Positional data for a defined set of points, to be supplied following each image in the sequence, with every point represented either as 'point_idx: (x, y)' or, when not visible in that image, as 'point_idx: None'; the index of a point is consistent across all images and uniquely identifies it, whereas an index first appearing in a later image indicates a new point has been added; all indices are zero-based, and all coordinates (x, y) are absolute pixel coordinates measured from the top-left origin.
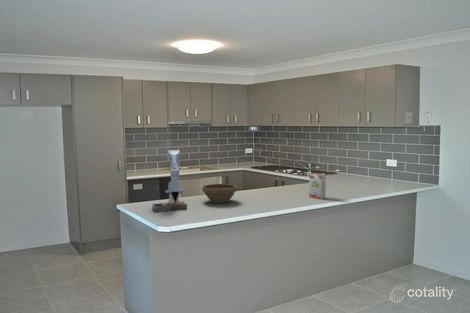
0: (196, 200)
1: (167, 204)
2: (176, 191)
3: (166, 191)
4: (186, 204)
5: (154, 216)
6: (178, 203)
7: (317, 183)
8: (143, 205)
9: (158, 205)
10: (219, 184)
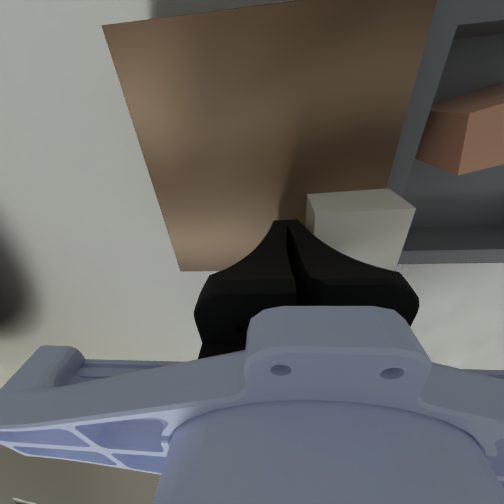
0: (104, 350)
1: (466, 111)
2: (314, 308)
3: None
4: (114, 27)
5: None
6: (253, 146)
7: None
8: (491, 343)
9: (483, 238)
10: None
